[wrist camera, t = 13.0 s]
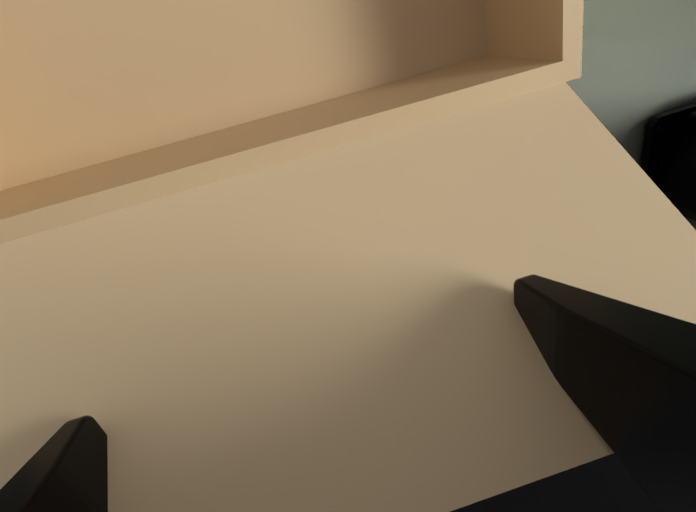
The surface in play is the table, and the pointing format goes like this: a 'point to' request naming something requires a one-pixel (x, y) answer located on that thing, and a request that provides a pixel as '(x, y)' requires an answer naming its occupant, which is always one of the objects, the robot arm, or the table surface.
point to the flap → (339, 318)
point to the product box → (574, 492)
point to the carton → (240, 87)
